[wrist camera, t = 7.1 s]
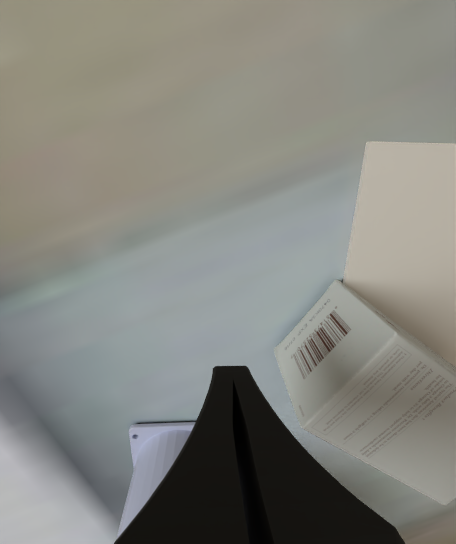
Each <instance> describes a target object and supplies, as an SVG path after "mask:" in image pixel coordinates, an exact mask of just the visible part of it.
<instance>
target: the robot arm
mask: <svg viewBox="0 0 456 544" xmlns="http://www.w3.org/2000/svg"><path fill="white" fill-rule="evenodd" d="M135 434H136V435H135ZM129 437H130V444H131V451H132V459H133V466H134V472H133V476H132V480H131V484H130V488H129V491H128V495H127V499H126V503H125V507H124V511H123V515H122V519H121V523H120V527H119V531H118V535H117V539H116V541H115V543H114V544H405V542H404V541H403V539H402V538H401V536H400V535H399V533H398V531H397V530H396V528H395V527H394V526H392V525H391V524H390V523H389V522H387V521H386V520H385V519H383V518H382V517H381V516H379V515H378V514H377V513H376V512H374V511H373V510H372V509H370V508H369V507H368V506H366V505H365V504H364V503H363V502H361V501H360V500H359V499H357V498H356V497H355V496H354V495H353V494H352V493H350V492H349V491H348V490H347V489H346V488H345V487H343V486H342V485H341V484H340V483H339V482H338V481H337V480H336V479H335V478H334V477H333V476H332V475H331V474H330V473H328V472H327V471H326V470H325V469H324V468H323V467H322V466H321V465H320V464H319V463H318V462H317V461H316V460H315V459H314V458H313V457H312V456H311V455H310V454H309V453H308V452H307V451H306V450H305V449H304V447H303V446H302V445H301V444H300V443H299V442H298V441H297V440H296V438H295V437H294V436H293V435H292V434H291V432H290V431H289V430H288V429H287V428H286V426H285V425H284V424H283V422H282V421H281V420H280V418H279V417H278V416H277V414H276V413H275V412H274V410H273V409H272V407H271V406H270V404H269V403H268V402H267V400H266V399H265V397H264V396H263V394H262V392H261V391H260V389H259V387H258V386H257V384H256V382H255V380H254V379H253V377H252V375H251V373H250V371H249V369H248V367H247V366H215V367H214V368H213V374H212V379H211V384H210V387H209V390H208V393H207V396H206V399H205V402H204V404H203V407H202V409H201V412H200V414H199V416H198V418H197V421H196V422H182V423H155V424H134V425H132V426H131V427H130V429H129Z"/></svg>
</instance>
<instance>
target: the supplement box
mask: <svg viewBox="0 0 456 544" xmlns="http://www.w3.org/2000/svg"><path fill="white" fill-rule="evenodd" d="M274 353H275V356H276V359H277V362H278V365H279V368H280V371H281V374H282V377H283V379H284V382H285V385H286V388H287V391H288V393H289V396H290V399H291V402H292V405H293V407H294V410H295V413H296V415H297V418H298V421H299V423H300V426H301V428H302V429H304V430H306V431H308V432H310V433H312V434H314V435H315V436H317V437H319V438H321V439H323V440H324V441H326V442H328V443H330V444H332V445H334V446H336V447H337V448H339V449H341V450H343V451H345V452H347V453H348V454H350V455H352V456H354V457H356V458H358V459H360V460H361V461H363V462H365V463H367V464H369V465H370V466H372V467H374V468H376V469H378V470H380V471H382V472H383V473H385V474H387V475H389V476H391V477H393V478H395V479H396V480H398V481H400V482H402V483H404V484H406V485H407V486H409V487H411V488H413V489H415V490H417V491H418V492H420V493H422V494H424V495H426V496H428V497H430V498H431V499H433V500H435V501H437V502H439V503H440V504H442V505H447V504H449V503H450V502H451V501H452V500H453V499H455V498H456V367H455V366H453V365H452V364H451V363H449V362H448V361H447V360H445V359H444V358H443V357H441V356H440V355H438V354H437V353H436V352H434V351H433V350H432V349H430V348H429V347H428V346H426V345H425V344H424V343H422V342H421V341H419V340H418V339H417V338H415V337H414V336H413V335H411V334H410V333H408V332H407V331H406V330H404V329H403V328H402V327H400V326H399V325H397V324H396V323H395V322H393V321H392V320H391V319H389V318H388V317H387V316H386V315H384V314H383V313H382V312H380V311H379V310H378V309H376V308H375V307H374V306H372V305H371V304H370V303H369V302H367V301H366V300H365V299H363V298H362V297H361V296H360V295H358V294H357V293H356V292H354V291H353V290H352V289H350V288H349V287H348V286H346V285H345V284H344V283H342V282H341V281H339V280H335V281H334V282H333V283H332V284H331V285H330V286H329V288H328V290H327V291H326V292H325V293H324V294H323V296H322V297H321V298H320V299H319V300H318V301H317V302H316V304H315V305H314V306H313V307H312V308H311V309H310V310H309V312H308V313H307V314H306V315H305V316H304V317H303V319H302V320H301V321H300V322H299V323H298V324H297V325H296V326H295V328H294V329H293V330H292V331H291V332H290V333H289V334H288V335H287V336H286V337H285V339H284V340H283V341H282V342H281V343H280V344H279V345H278V346H276V347H275V348H274Z"/></svg>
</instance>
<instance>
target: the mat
mask: <svg viewBox="0 0 456 544" xmlns="http://www.w3.org/2000/svg"><path fill="white" fill-rule="evenodd" d="M342 283H344V284H345V285H346V286H348V287H349V288H350V289H352V290H353V291H354V292H356V293H357V294H358V295H360V296H361V297H362V298H363V299H365V300H366V301H367V302H369V303H370V304H371V305H372V306H374V307H375V308H376V309H378V310H379V311H380V312H382V313H383V314H384V315H386V316H387V317H388V318H389V319H391V320H392V321H393V322H395V323H396V324H397V325H399V326H400V327H402V328H403V329H404V330H406V331H407V332H408V333H410V334H411V335H413V336H414V337H415V338H417V339H418V340H419V341H421V342H422V343H424V344H425V345H426V346H428V347H429V348H430V349H432V350H433V351H434V352H436V353H437V354H438V355H440V356H441V357H443V358H444V359H445V360H447V361H448V362H449V363H451V364H452V365H453V366H455V367H456V144H446V143H408V142H366V146H365V152H364V158H363V164H362V170H361V176H360V182H359V188H358V193H357V199H356V205H355V211H354V217H353V223H352V229H351V235H350V241H349V247H348V253H347V259H346V265H345V271H344V276H343V282H342Z"/></svg>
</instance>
